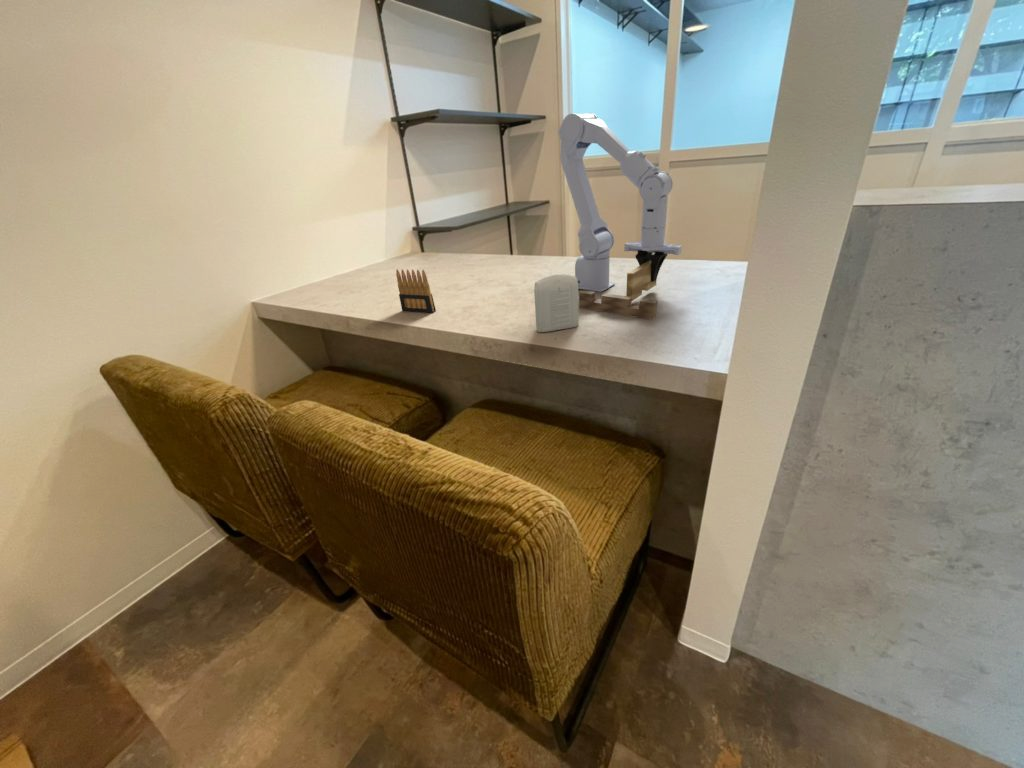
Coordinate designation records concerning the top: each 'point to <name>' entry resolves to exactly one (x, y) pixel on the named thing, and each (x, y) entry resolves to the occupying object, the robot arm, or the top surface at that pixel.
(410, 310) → the ammunition clip
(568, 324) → the miniature gravestone
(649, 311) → the slotted beam
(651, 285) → the crossbar
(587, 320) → the top surface
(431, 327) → the top surface
